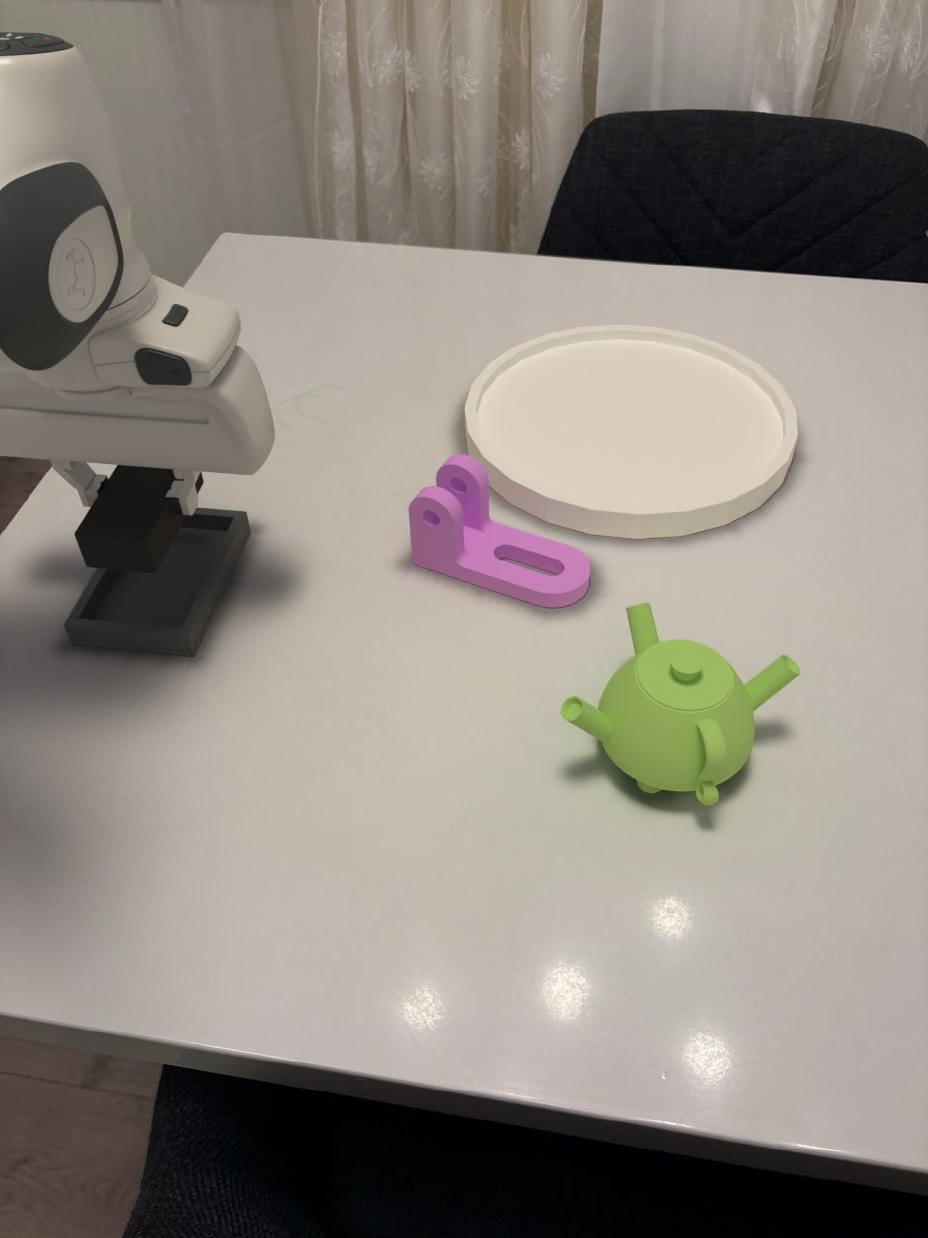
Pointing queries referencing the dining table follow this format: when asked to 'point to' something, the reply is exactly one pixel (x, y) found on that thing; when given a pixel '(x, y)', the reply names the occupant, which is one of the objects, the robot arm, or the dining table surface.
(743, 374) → the plate
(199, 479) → the black rectangular block
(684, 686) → the teapot
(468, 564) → the bracket
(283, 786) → the dining table surface
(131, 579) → the base tray
